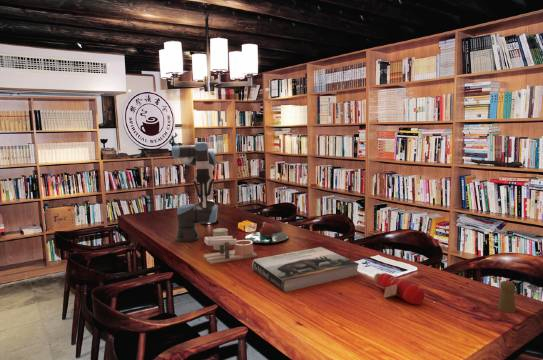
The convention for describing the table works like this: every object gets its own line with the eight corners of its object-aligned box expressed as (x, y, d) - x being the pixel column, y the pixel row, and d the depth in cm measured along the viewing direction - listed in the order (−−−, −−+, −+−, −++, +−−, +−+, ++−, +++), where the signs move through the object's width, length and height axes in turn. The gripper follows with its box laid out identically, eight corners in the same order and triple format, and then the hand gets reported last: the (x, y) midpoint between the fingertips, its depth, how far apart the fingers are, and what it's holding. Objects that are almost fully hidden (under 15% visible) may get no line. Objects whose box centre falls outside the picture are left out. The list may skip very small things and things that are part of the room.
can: (225, 250, 240) (225, 231, 238) (211, 250, 241) (210, 230, 240) (230, 246, 249) (229, 227, 247) (216, 245, 250) (215, 227, 249)
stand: (203, 256, 229) (202, 239, 228) (247, 249, 240) (247, 233, 239) (210, 264, 216) (209, 246, 215) (257, 256, 227) (256, 239, 226)
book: (282, 293, 176) (282, 280, 175) (252, 271, 205) (251, 259, 204) (359, 275, 195) (359, 263, 194) (321, 257, 224) (321, 247, 223)
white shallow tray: (201, 239, 231) (201, 234, 231) (228, 238, 238) (228, 233, 238) (207, 245, 217) (208, 240, 217) (236, 244, 224) (236, 239, 224)
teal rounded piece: (264, 248, 243) (263, 230, 242) (237, 239, 264) (236, 223, 263) (296, 239, 261) (296, 222, 260) (268, 231, 282) (268, 216, 281)
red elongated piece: (405, 294, 155) (362, 275, 177) (407, 313, 156) (364, 291, 178) (426, 283, 160) (382, 266, 182) (428, 301, 161) (384, 282, 183)
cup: (232, 251, 234) (232, 241, 233) (249, 249, 238) (248, 239, 237) (238, 256, 224) (237, 246, 223) (255, 253, 228) (255, 243, 228)
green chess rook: (494, 306, 157) (495, 279, 156) (508, 305, 158) (510, 278, 156) (504, 313, 151) (505, 285, 150) (519, 312, 152) (521, 284, 150)
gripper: (193, 169, 230) (195, 209, 233) (214, 168, 235) (216, 207, 238) (190, 168, 237) (192, 207, 240) (211, 167, 242) (213, 205, 245)
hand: (204, 207), depth 239 cm, fingers closed
